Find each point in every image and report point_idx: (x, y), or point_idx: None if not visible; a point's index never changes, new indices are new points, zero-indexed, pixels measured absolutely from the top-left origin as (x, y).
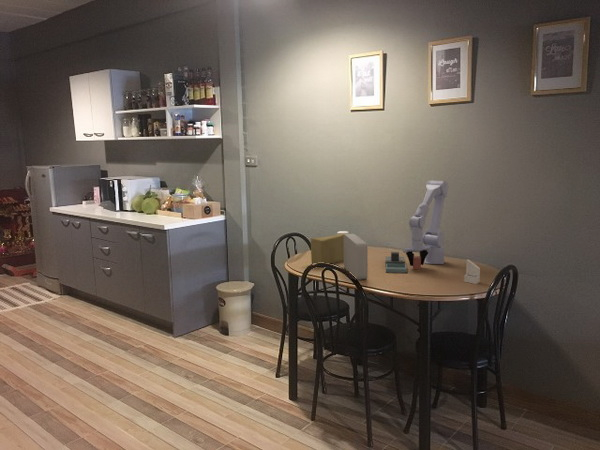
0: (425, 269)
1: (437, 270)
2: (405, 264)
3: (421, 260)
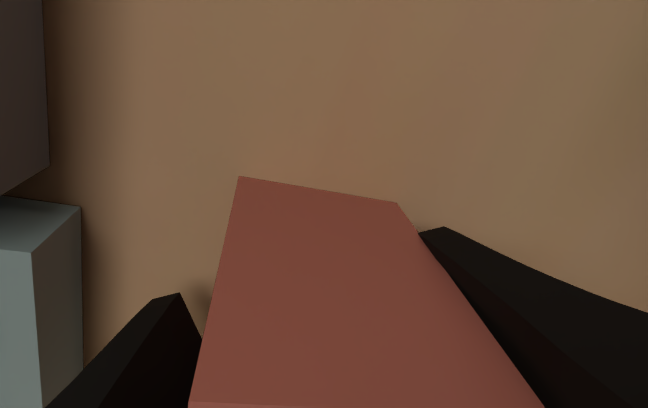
0: None
1: None
2: (17, 303)
3: None
